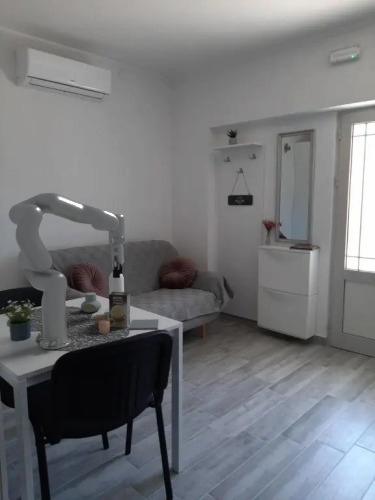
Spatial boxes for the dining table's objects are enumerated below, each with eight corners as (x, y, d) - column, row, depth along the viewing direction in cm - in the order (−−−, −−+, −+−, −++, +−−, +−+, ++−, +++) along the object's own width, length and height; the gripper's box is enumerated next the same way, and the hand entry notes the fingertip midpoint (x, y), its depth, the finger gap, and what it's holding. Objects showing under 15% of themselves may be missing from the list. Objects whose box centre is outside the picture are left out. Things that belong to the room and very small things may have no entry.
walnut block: (105, 327, 186) (105, 317, 186) (95, 327, 186) (94, 317, 185) (107, 324, 191) (107, 314, 190) (97, 324, 191) (96, 314, 190)
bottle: (107, 315, 206) (105, 259, 202) (113, 311, 213) (111, 257, 210) (121, 316, 204) (119, 259, 200) (126, 312, 211) (125, 257, 208)
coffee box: (108, 327, 186) (107, 294, 184) (112, 323, 193) (111, 291, 191) (127, 327, 185) (126, 295, 183) (130, 323, 192) (130, 291, 190)
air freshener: (79, 313, 210) (78, 295, 209) (83, 309, 218) (82, 291, 217) (99, 313, 210) (98, 295, 208) (102, 309, 218) (102, 291, 217)
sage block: (114, 321, 195) (114, 312, 195) (104, 321, 195) (104, 312, 194) (115, 318, 200) (115, 309, 200) (106, 318, 200) (105, 309, 199)
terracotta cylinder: (109, 333, 177) (108, 323, 177) (97, 333, 177) (97, 323, 177) (110, 330, 182) (110, 319, 182) (99, 330, 182) (99, 319, 181)
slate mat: (157, 329, 183) (157, 327, 183) (129, 329, 183) (129, 328, 183) (158, 320, 196) (158, 319, 196) (132, 321, 196) (132, 319, 196)
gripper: (122, 242, 176) (123, 279, 178) (126, 238, 193) (127, 272, 195) (106, 242, 176) (107, 279, 178) (111, 238, 193) (112, 272, 195)
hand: (117, 275), depth 186 cm, fingers open, 9 cm apart
